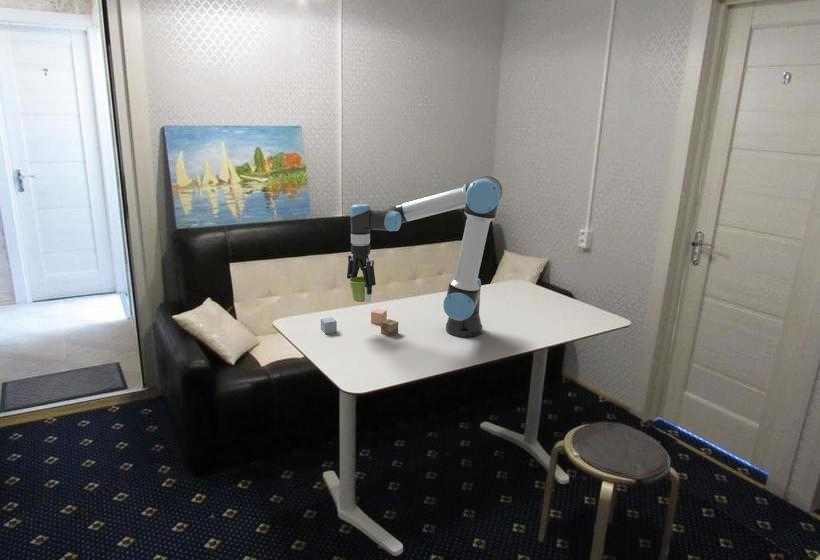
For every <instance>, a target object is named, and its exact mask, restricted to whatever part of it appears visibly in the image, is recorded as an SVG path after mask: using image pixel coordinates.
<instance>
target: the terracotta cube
mask: <svg viewBox="0 0 820 560" xmlns="http://www.w3.org/2000/svg"><path fill="white" fill-rule="evenodd" d="M387 318H388V310H386V309H385V310H384V309H381V308H380V309H379V308H375V309H373V310H372V311H371V312H370V324H373V323H375V325H379V324H380V325H379V326H381V322H383V321H385V320H388V319H387Z"/></svg>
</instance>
